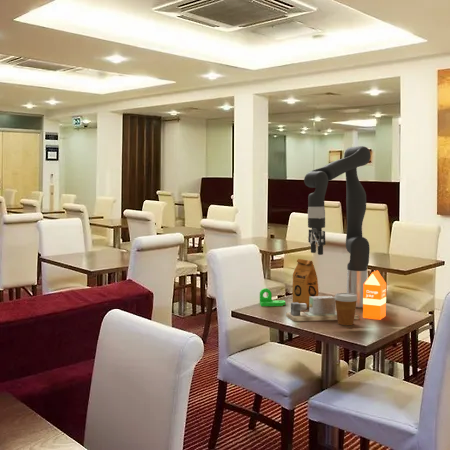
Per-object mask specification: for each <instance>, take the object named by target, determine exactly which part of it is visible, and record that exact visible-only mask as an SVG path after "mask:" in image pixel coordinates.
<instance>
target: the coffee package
mask: <svg viewBox="0 0 450 450" xmlns="http://www.w3.org/2000/svg"><path fill="white" fill-rule="evenodd" d="M296 262H297V264H296V267H295V268H294V271H293V272H292V302H298V303H305V304H307V308H309V296H319V292H320V291H319V281H318V275H317V272H316V268H315V266H314V265H315V264H314V262H313V260H307V259H304V258H303V259H302V258H297V260H296Z"/></svg>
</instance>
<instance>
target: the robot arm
mask: <svg viewBox="0 0 450 450" xmlns="http://www.w3.org/2000/svg"><path fill="white" fill-rule="evenodd" d="M343 155H344V156H343V158H341V159H337V160H334V161H331V162H330V163H326V165H323V166H322V167H319V168H316V169H312V170H311V171H309V172H307V173H306V174H305V175H304V179H303V182H304V185H305V186H306V187H308V188H311V189H313V188H315V190H314V192H311V193H309V194H308V197H307V198H308V199H307V200H308V201H307V202H308V203H307V205H308V207H307V208H308V209H307V228H309V229H308V240H307V241H308V243H309V245H310V253H311V254H316V253H317V255H318V256H323V255H324V246H325V245H326V231H325V230H323V229H324V228H326V208H325V196H326V193H327V188H328V185H329V181H332V180H334V179H336V178H338V177H339V176H342V175H343V174H344V173H345V182H346V183H345V185H346V186H345V187H346V194H345V195H346V196H345V197H346V198H345V202H346V205H345V206H346V235H345V236H346V238H345V248H346V250H347V252H348V253H349V262H348V263H347V267H346V271H347V272H346V293H351V294H356V295H357V298H358V299H357V302H356V308H363V284H364V283H365V282H366V280H367V279H368V266H369V263H370V243H369V242H370V241H368V239H367V238H366V237H364V236H363V223H364V218H365V215H366V211H367V194H366V191H365V188H364V187H363V185H362V183H361V182H360V180H359V177H358V171H357V169H358V167H362V166H367V164H369V162H370V161H371V156H372V154H371V151H370V149H369V148H368V147H366V146H359V145H358V146H350V147H347V148H346V149H345V150H344V153H343Z"/></svg>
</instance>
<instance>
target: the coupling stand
mask: <svg viewBox="0 0 450 450" xmlns="http://www.w3.org/2000/svg"><path fill="white" fill-rule="evenodd" d="M285 317H286V318H288V319H290V320H292V322H313V321H338V320H337V311H336V310H335V314H325V315H312V314H311V313H309V311H307V304H305V303H298V302H293V301H292V302H290V312H289V311H287V312H286V313H285ZM354 320H360V315H358V314H356V313H355V316H354Z"/></svg>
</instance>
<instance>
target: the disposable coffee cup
mask: <svg viewBox="0 0 450 450" xmlns="http://www.w3.org/2000/svg"><path fill="white" fill-rule="evenodd" d="M333 297H334V298H335V302H336V304H335V311H337V320H336V321H337V324H338V325H339V326H340V325H341V326H353V325H354V322H355V319H354V316H355V314H356V309H357V307H356V302H357V299H358V298H357V295H356V294H351V293H347V292H340V293H339V292H337V293H335V295H334V296H333Z"/></svg>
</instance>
